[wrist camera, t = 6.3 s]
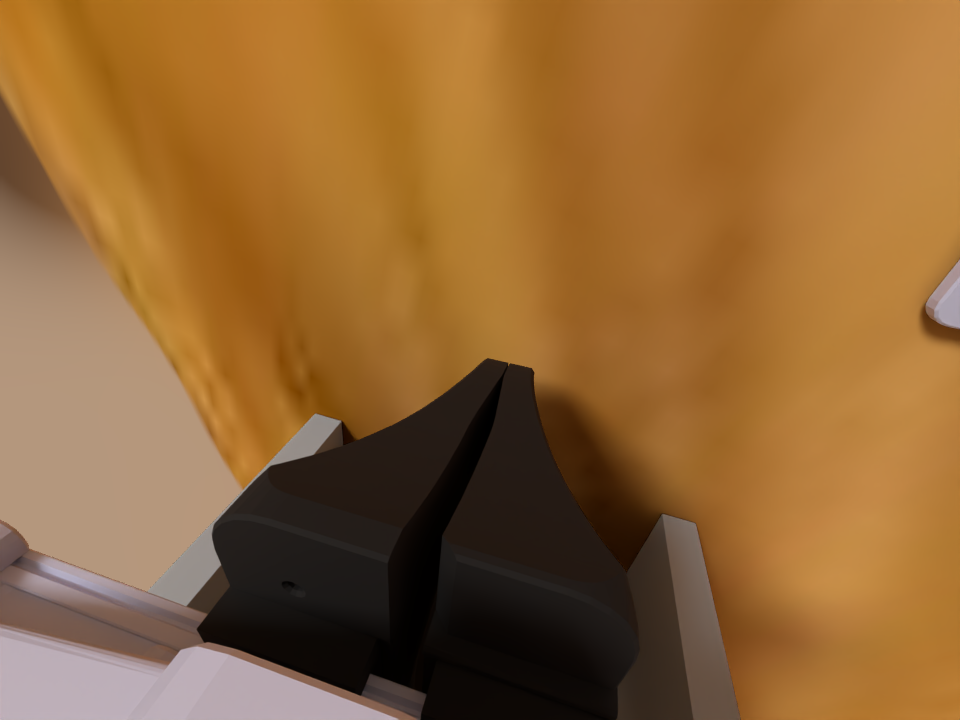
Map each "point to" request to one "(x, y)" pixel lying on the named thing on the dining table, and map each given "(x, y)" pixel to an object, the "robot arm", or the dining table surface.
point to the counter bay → (652, 579)
